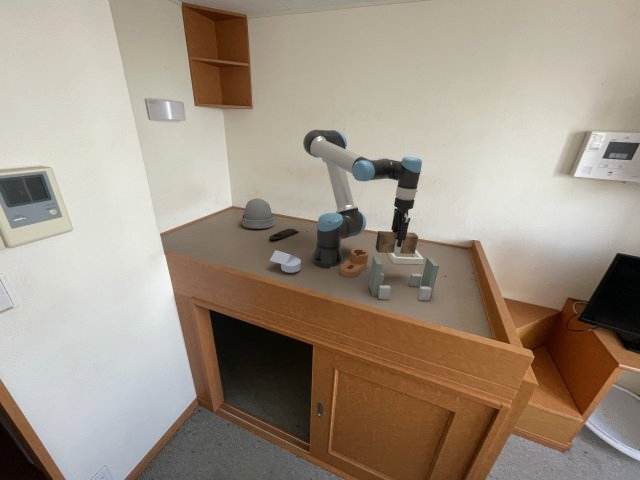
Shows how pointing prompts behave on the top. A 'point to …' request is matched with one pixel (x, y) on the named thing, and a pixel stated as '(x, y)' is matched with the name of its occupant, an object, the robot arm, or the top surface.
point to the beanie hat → (257, 215)
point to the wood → (283, 234)
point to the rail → (388, 242)
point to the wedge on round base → (286, 261)
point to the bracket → (355, 263)
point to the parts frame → (407, 259)
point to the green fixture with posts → (415, 280)
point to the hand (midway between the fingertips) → (394, 250)
